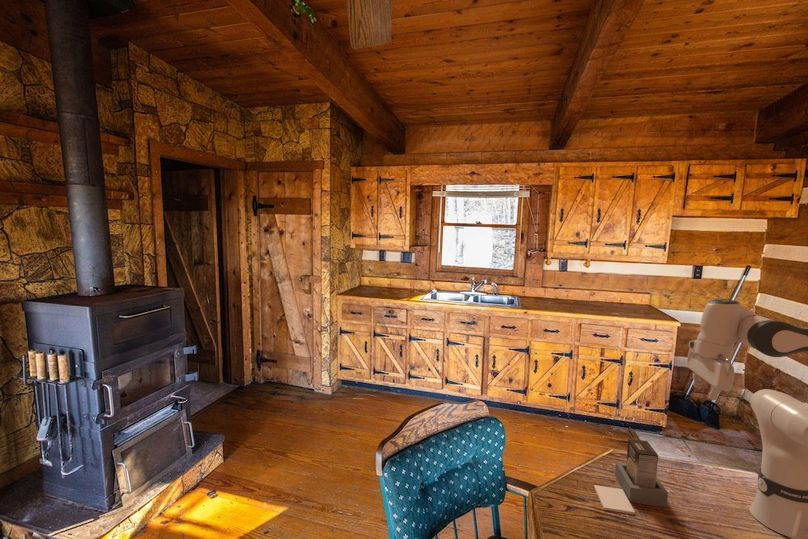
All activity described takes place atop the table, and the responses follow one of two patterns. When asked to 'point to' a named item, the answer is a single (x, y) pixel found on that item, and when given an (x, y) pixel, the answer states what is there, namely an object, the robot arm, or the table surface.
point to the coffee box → (641, 463)
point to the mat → (613, 499)
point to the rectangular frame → (641, 489)
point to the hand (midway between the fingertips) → (703, 392)
